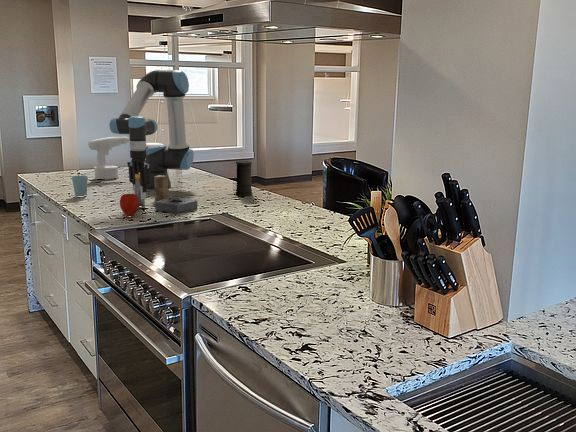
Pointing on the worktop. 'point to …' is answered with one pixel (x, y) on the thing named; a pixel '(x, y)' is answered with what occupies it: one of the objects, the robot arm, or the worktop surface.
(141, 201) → the round bit
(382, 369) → the worktop surface
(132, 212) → the apple
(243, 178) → the container
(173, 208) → the holder plate
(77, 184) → the cup
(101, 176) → the power drill
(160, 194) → the square bit
